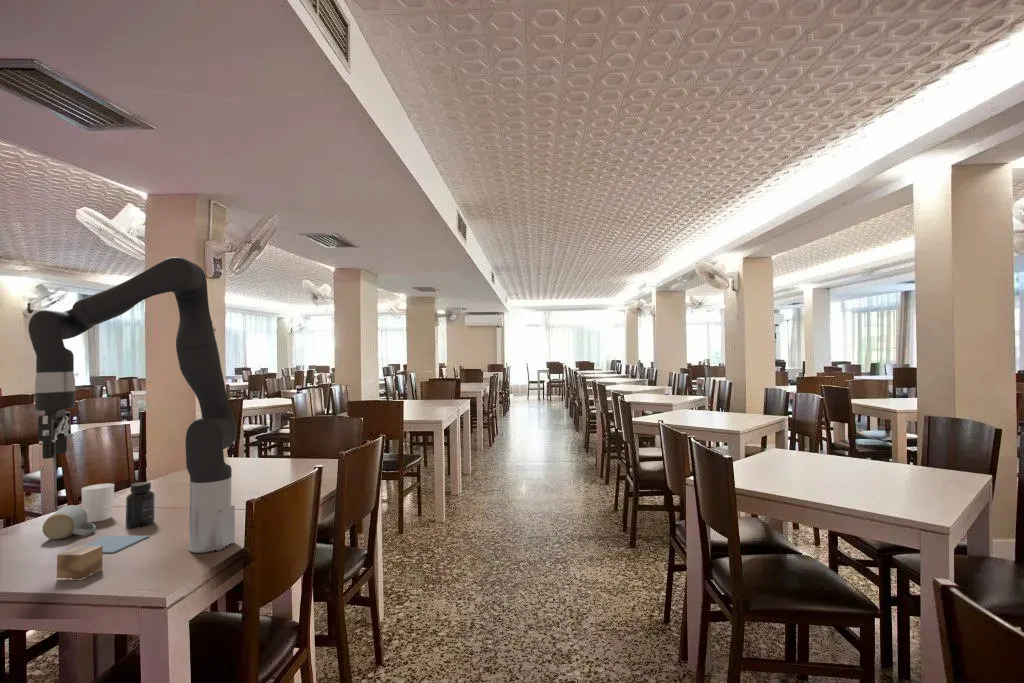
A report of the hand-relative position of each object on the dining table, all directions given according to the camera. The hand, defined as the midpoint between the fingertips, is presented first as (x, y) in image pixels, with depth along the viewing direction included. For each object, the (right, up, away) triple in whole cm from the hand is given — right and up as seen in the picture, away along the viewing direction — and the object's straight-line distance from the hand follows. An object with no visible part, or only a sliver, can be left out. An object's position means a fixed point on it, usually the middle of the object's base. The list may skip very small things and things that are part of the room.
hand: (55, 455), depth 126 cm
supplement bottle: (+4, -26, +24) cm, 35 cm away
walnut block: (+17, -24, -13) cm, 32 cm away
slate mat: (+8, -25, +6) cm, 27 cm away
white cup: (-14, -27, +30) cm, 42 cm away
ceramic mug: (-9, -26, +15) cm, 31 cm away
